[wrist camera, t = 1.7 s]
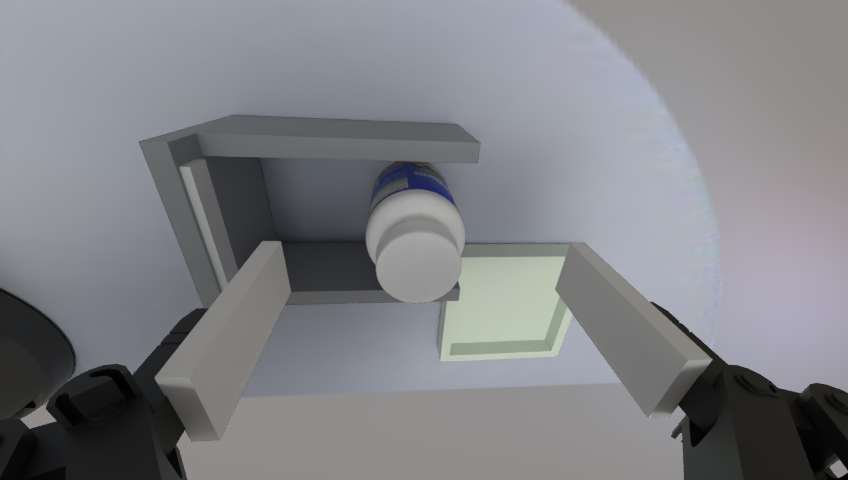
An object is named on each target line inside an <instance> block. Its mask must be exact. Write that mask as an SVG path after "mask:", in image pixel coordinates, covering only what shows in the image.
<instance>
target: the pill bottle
mask: <svg viewBox="0 0 848 480" xmlns="http://www.w3.org/2000/svg"><path fill="white" fill-rule="evenodd" d="M464 244H465V228H464V224H463V221H462V218H461V216H460V213H459V211H458V209H457V207H456V205H455V202H454V200H453V198H452V196H451V194H450V191H449V189H448V187H447V185H446V183H445V181H444V179H443V177H442V176H441V175H440V173H439V172H438V171H437V170H436V169H435V168H434V167H432V166H431V165H429V164H427V163H425V162H413V161H400V162H397V163H394V164H392V165H390V166H389V167H387V168H386V169H385V170H384V171H383V172H382V173H381V174H380V176H379V177H378V179H377V180H376V182H375V184H374V188H373V194H372V200H371V205H370V211H369V217H368V222H367V229H366V246H367V250H368V253H369V256H370V258H371V259H372V261H373V262H374V264H375V265H376V275H377V278H378V281H379V283H380V285H381V286H382V288H383V289H384V290H385V291H386V292H387V293H388V294H389V295H391V296H392V297H394V298H396V299H398V300H401V301H404V302H409V303H425V302H430V301H433V300H436V299H438V298H440V297H442V296H443V295H445V294H446V293H448V292H449V291H450V290H451V289H452V288H453V287H454V285H455V284H456V283H457V281H458V279H459V277H460V274H461V268H462V261H461V253H462V251H463V248H464Z"/></svg>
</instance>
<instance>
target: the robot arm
mask: <svg viewBox="0 0 848 480" xmlns="http://www.w3.org/2000/svg"><path fill="white" fill-rule="evenodd" d="M555 290H556V292H557V293H558V295H559V296H560V297H561V299H562V300H563V301H564V303H565V304H566V306H567V307H568V308H569V310H570V311H571V313H572V314H573V315H574V317H575V318H576V319H577V321H578V322H579V324H580V325H581V326H582V328H583V329H584V331H585V332H586V333H587V335H588V336H589V337H590V339H591V340H592V342H593V343H594V344H595V346H596V347H597V349H598V350H599V351H600V353H601V354H602V355H603V357H604V358H605V360H606V361H607V362H608V364H609V365H610V367H611V368H612V369H613V371H614V372H615V373H616V375H617V376H618V378H619V379H620V380H621V382H622V383H623V385H624V386H625V387H626V389H627V390H628V391H629V393H630V394H631V396H632V397H633V398H634V400H635V401H636V402H637V404H638V405H639V407H640V408H641V409H642V411H643V412H644V414H645V415H646V416H647V418H660V417H670V416H671V414H672V413H673V411H674V410H675V409H676V408H677V406H678V405H679V406H680V408H681V409H682V410H683V411H684V412H685V413H686V416H685V417H684V418H683V419H682V421H681V422H680V423H679V425H678V426H677V427H676V428H675V430H674V431H673V432H672V435H671V437H673V438H676V437H677V436H678V434H680V433H682V437H683V440H682V441H681V442H682V443H683V461H684V462H683V463H684V480H848V473H847V474H845V475H844V476H842V477H840V478H837V477H836V475H834V473H833V472H832V471H831V469H830V466H831V465H832V464H834V463H835V462H836V461H838V460H839V459H840V460H841V462H842V463H843V464H844V466H845V467H846V469H847V470H848V393H846V392H845V391H843V390H840V389H837V388H834V387H831V386H829V385H825V384H819V383H814V384H810V385H809V386H808V387H807V388H806V389H805V390H804V391H803V392H802V393H797V392H792V391H788V390H784V389H779V388H777V387H776V386H775V385H774V384H773V383H772V382H771V381H769V380H768V379H766V378H765V377H763V376H762V375H760V374H758V373H756V372H754V371H752V370H750V369H747V368H744V367H741V366H738V365H728V364H727V363H726V362H725V361H723V360H722V359H721V358H720V357H719V356H718V355H717V354H715V353H714V352H713V351H712V350H711V349H710V348H709V347H708V346H706V345H705V344H704V343H703V342H702V341H701V340H700V339H699V338H697V337H696V336H695V335H694V334H693V333H692V332H689V330H688V329H687V328H686V327H685V326H684V325H683V324H682V323H679V321H678V320H677V319H676V318H675V317H674V316H673V315H672V314H670V313H669V312H668V311H667V310H665V309H664V308H662V307H660V306H658V305H657V304H655V303H653V302H649V301H648V300H647V299H646V298H645V297H644V296H643V295H642V294H640V293H639V292H638V291H637V290H636V289H635V288H634V287H633V286H632V285H631V284H630V283H628V282H627V281H626V280H625V279H624V278H623V277H622V276H621V275H620V274H619V273H618V272H616V271H615V270H614V269H613V268H612V267H611V266H610V265H609V264H608V263H607V262H605V261H604V260H603V259H602V258H601V257H600V256H599V255H598V254H597V253H596V252H595V251H593V250H592V249H591V248H590V247H589V246H588V245H587V244H586V243H570V245H569V248H568V251H567V254H566V257H565V260H564V263H563V266H562V269H561V273H560V276H559V279H558V282H557V285H556V288H555ZM290 293H291V289H290V284H289V279H288V274H287V269H286V264H285V259H284V254H283V249H282V244H281V241H262V242H261V243H260V245H259V246H258V247H257V248H256V250H255V251H254V252H253V254H252V255H251V256H250V257H249V259H248V260H247V261H246V262H245V264H244V265H243V266H242V267H241V269H240V270H239V271H238V272H237V274H236V275H235V276H234V278H233V279H232V280H231V281H230V283H229V284H228V285H227V286H226V288H225V289H224V290H223V291H222V293H221V294H220V295H219V297H218V298H217V299H216V300H215V302H214V303H213V304H212V305H211V307H210V308H201V309H195V310H194V311H192V312H191V313H190V314H188V315H187V316H185V317H184V318H182V319H181V320H180V321H179V322H178V323H177V324H176V326H175V327H174V328H173V329H172V330H171V331H170V334H169V335H167V336H166V337H165V338H164V339H163V341H162V342H161V345H158V346H157V348H156V349H155V350H154V351H153V352H152V353H151V354H150V356H149V357H148V358H147V359H146V360H145V361H144V362H143V364H142V365H141V366H140V367H139V368H138V369H137V371H136V372H135V373H134V374H133V375H131V373H130V372H129V370H128V369H127V368H126V366H123V365H119V364H112V365H104V366H100V367H97V368H94V369H91V370H88V371H86V372H84V373H82V374H80V375H78V376H76V377H75V378H73V379H71V380H70V381H69V382H67V381H68V380H69V378H70V377H71V375H72V373H73V369H74V359H73V355H72V352H71V349H70V347H69V345H68V343H67V342H66V340H65V339H64V338H63V336H62V335H61V334H60V333H59V332H58V330H57V329H56V328H55V327H54V326H53V325H52V324H51V323H49V322H48V321H47V320H46V319H45V318H44V317H42V316H41V315H40V314H38V313H37V312H36V311H34V310H33V309H31V308H30V307H28V306H27V305H25V304H23V303H22V302H20V301H18V300H16V299H15V298H13V297H11V296H9V295H7V294H5V293H3V292H1V291H0V480H187V477H186V473H185V470H184V466H183V462H182V459H181V455H180V451H179V449H178V448H177V446H176V444H177V442H178V440H179V439H180V437H181V435H182V434H183V432H184V430H185V431H186V433H187V435H188V436H189V438H190V440H191V442H194V441H213V440H220V439H221V437H222V435H223V433H224V431H225V429H226V427H227V425H228V423H229V420H230V418H231V416H232V414H233V412H234V410H235V408H236V406H237V404H238V402H239V400H240V398H241V396H242V393H243V391H244V389H245V387H246V385H247V383H248V381H249V379H250V377H251V375H252V373H253V370H254V368H255V366H256V364H257V362H258V360H259V358H260V356H261V354H262V352H263V350H264V347H265V345H266V343H267V341H268V339H269V337H270V335H271V333H272V331H273V329H274V327H275V324H276V322H277V320H278V318H279V316H280V314H281V312H282V310H283V308H284V306H285V304H286V302H287V299H288V297H289V295H290ZM66 382H67V383H66ZM65 383H66V384H65ZM47 400H49V402H48V404H47V406H46V410H48V412H49V413H50V414H51V415H52V416H53V417H54V418H55V419H56V421H57V422H53V423H49V424H46V425H42V426H39V427H35V428H32V429H29V428H28V427H27V426H26V425H25V424H24V423H23V422H22V421H21V420H20V419H21V418H23V417H25V416H27V415H28V414H30V413H31V412H33V411H35V410H36V409H38V408H39V407H40V406H42V405H43V404H44V403H45V402H46V401H47Z"/></svg>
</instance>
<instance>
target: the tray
mask: <svg viewBox="0 0 848 480" xmlns="http://www.w3.org/2000/svg"><path fill="white" fill-rule="evenodd" d="M569 245H570V244H464V248H463V251H462V253H461V261H462V268H461V274H460V277H459V279H458V283H459V286H460V295H459V301H442V304H441V313H440V323H439V333H438V342H437V347H438V352H439V358H440V362H445V361H467V360H488V359H510V358H532V357H553V356H557V354H558V352H559V349H560V347H561V344H562V341H563V339H564V336H565V334H566V331H567V328H568V326H569V323H570V321H571V318H572V315H573V314H572V313H571V311H570V310H569V308H568V307H567V306H566V304H565V303H564V301H563V300H562V299H561V297H560V296H559V295H558V293H557V292H556V290H555V288H556V285H557V282H558V279H559V276H560V273H561V269H562V266H563V263H564V260H565V257H566V254H567V251H568V248H569Z"/></svg>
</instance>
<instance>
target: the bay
mask: <svg viewBox="0 0 848 480" xmlns="http://www.w3.org/2000/svg"><path fill="white" fill-rule="evenodd" d="M139 144H140V146H141V149H142V151H143V154H144V156H145V159H146V162H147V164H148V167H149V169H150V172H151V174H152V177H153V179H154V182H155V184H156V187H157V190H158V192H159V195H160V197H161V200H162V202H163V205H164V207H165V210H166V212H167V215H168V218H169V220H170V223H171V225H172V228H173V230H174V233H175V235H176V238H177V240H178V243H179V246H180V248H181V251H182V253H183V256H184V258H185V261H186V263H187V266H188V268H189V271H190V274H191V276H192V279H193V281H194V284H195V286H196V289H197V291H198V294H199V296H200V299H201V302H202V304H203V307H204V308H210V307H211V305H212V304H213V303H214V302H215V300H216V299H217V298H218V297H219V295H220V294H221V293H222V291H223V290H224V289H225V288H226V286H227V285H228V284H229V283H230V281H231V280H232V279H233V278H234V276H235V275H236V274H237V272H238V271H239V270H240V269H241V267H242V266H243V265H244V264H245V262H246V261H247V260H248V259H249V257H250V256H251V255H252V254H253V252H254V251H255V250H256V248H257V247H258V246H259V245H260V243H261V242H262V241H277V240H276V236H275V231H274V226H273V221H272V217H271V212H270V207H269V202H268V198H267V193H266V188H265V183H264V179H263V174H262V169H261V165H260V160H259V157H263V158H301V159H338V160H376V161H413V162H450V163H478V157H479V150H480V142H479V141H477V140H476V139H475V138H474V137H472V136H471V135H470V134H469V133H467V132H466V131H465V130H464V129H463V128H461V127H460V126H459V125H458V124H442V123H417V122H393V121H368V120H344V119H320V118H295V117H271V116H246V115H231V116H227V117H224V118H220V119H217V120H213V121H210V122H206V123H203V124H199V125H196V126H192V127H189V128H185V129H182V130H178V131H175V132H171V133H167V134H164V135H160V136H157V137H153V138H150V139H146V140H143V141H139ZM281 244H282V249H283V254H284V259H285V264H286V269H287V274H288V279H289V284H290V289H291V293H290V295H289V297H288V299H287V302H286V304H285V305H305V304H347V303H388V302H404V301H401V300H398V299H396V298H394V297H392V296H391V295H389V294H388V293H387V292H386V291H385V290H384V289H383V288H382V286H381V285H380V283H379V281H378V278H377V275H376V265H375V264H374V262H373V261H372V259H371V258H370V256H369V253H368V250H367V246H366V242H281ZM459 295H460V286H459V283H458V281H457V283H456V284H455V285H454V287H453V288H452V289H451V290H450V291H449V292H448V293H446V294H445V295H443V296H442V297H440V298H438V299H436V300H433V301H459Z"/></svg>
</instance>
